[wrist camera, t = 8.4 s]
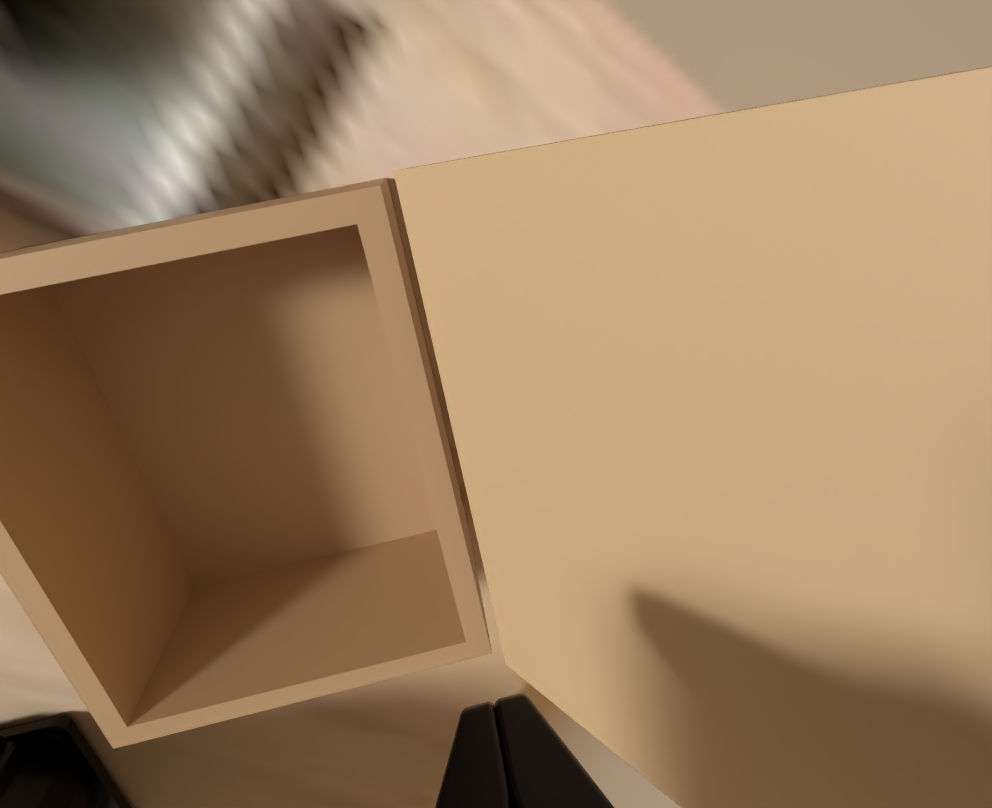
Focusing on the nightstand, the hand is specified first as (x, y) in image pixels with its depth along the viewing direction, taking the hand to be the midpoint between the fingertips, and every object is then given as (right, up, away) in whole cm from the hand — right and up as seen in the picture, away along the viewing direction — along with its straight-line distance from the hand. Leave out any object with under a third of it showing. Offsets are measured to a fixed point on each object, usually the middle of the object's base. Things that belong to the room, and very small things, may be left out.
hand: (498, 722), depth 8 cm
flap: (+2, +2, +2) cm, 3 cm away
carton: (-7, +4, +11) cm, 14 cm away
